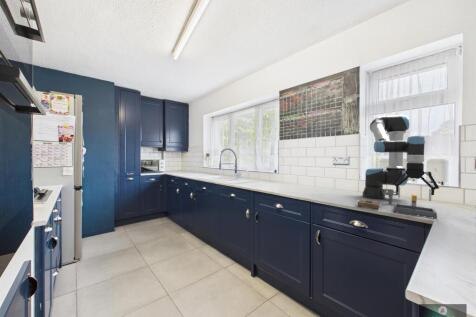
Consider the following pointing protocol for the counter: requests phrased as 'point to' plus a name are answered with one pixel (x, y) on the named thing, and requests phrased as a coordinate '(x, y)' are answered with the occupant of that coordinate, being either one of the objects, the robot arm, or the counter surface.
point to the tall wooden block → (413, 201)
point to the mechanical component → (390, 193)
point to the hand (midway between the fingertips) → (413, 199)
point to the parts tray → (419, 210)
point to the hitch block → (368, 204)
